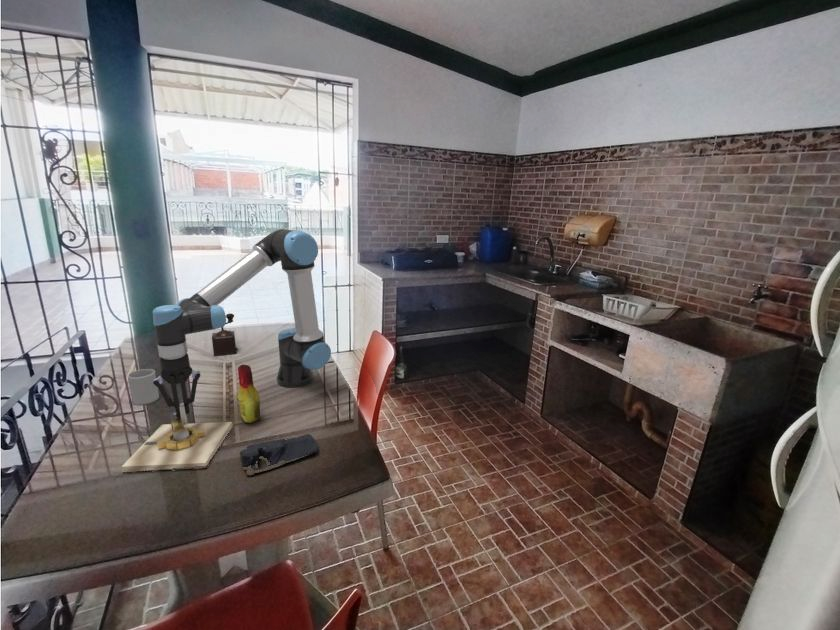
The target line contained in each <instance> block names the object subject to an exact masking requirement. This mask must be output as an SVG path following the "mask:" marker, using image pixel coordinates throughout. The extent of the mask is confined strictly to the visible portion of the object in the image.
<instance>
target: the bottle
mask: <svg viewBox="0 0 840 630" xmlns="http://www.w3.org/2000/svg"><path fill="white" fill-rule="evenodd" d="M237 372H238V382H239V383H238V384H239V389H238V392H237V397H238V398H237V399H238V404H239V410H240V416H241V418H242V419H243V422H245V423H249V424H251V423H254V422H256V421H259V420H260V418H261V404H260V403H261V402H260V395H259V392H258V390H257V389H256V387H255V385H254V377H253V373H252V368H251V366H250V365H248V364H241V365H239V366H238V367H237Z"/></svg>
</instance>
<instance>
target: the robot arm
mask: <svg viewBox="0 0 840 630" xmlns="http://www.w3.org/2000/svg"><path fill="white" fill-rule="evenodd" d="M318 254H319V246H318V243H317V241H316V239H315V238H314V236H312V235H310V234H309V233H308V232H305V231H302V230H298V229H297V230H294V229H283V228H281V229H277V230H274V231H273V232H270V233H269V234H268V235H266V236H265V237H262V239H261V240H259V241H258V242H257V243H255V244H254V245H253V246H252V250H251V251H250V252H249V253H247V254H245V256H243V257H241V258H240V259H238V261H237V262H235V263H234V264H232V265H231V266H230V267H229V268H227V269H226V270H225V271H224V272H222V273H221V274H219V275H218V276H217V277H216V278H214V279H213V280H212V281H210V282H209V283H207V285H204V287H202V288H201V289H200V290H199V291H197V292H196V293H194V294H193V295H192V296H191V297H189V298H183V299H182V298H181V300H178V302H177V303H176V304H166V305H164V304H163V305H161V306H156V307H155V308H154V309H153V310H152V321H153V322H152V324H153V327H154V334H155V339H156V344H157V350H158V356H159V362H160V363H159V364H160V369H161V372H160V375H159V376H158V377H156V378H155V379H154V381H153V384H154V385H156V386H157V387H158V391H159V392H160V394H161V396H162V398H163V399H164V402H165V403H166V405H167V406H168V408H170V407H174V408H175V411H176V415H177V416H180V415H181V420H182V422H183V425H187V424H188V417H187V415H188V414H190V413H191V412H190V411H191V410H190V404H191V403H192V404H193V403H194V402H195V397H196V391H197V385H198V381H199V380H200V378H201V371H196V370H193V368H192V367H191V364H190V356H189V354H188V343H187V337H186V335H191V334H197V333H202V332H206V331H215V330H217V329H221V327H223V328H224V327H226V325H227V324H226V323H227V318H226V315H227V314H226V313H225V310H224V308H223V306H221V305H220V304H221V303H222V302H223V301H225V300H226V299H228V297H230V296H232V295H233V294H234V293H235V292H236V291H238V290H239V289H240V288H241V287H242V286H244V285H245V284H246V283H248V282H249V281H250V280H251V279H253V278H254V277H255V276H256V275H258V274H259V273H260V272H261V271H262V270H264V269H265V268H267V267H272V266H274V265H275V264H276V263H278V262H280V266H281V269H282V270H283V272H285V273H286V274H287V275H286V276H287V279H288V286H289V295H290V299H291V306H292V311H293V312H292V313H293V319H294V326H295V327H292V328H291V327H290V328H286V329H283V330H280V331H279V332H278V338H277V341H278V351H279V354H278V355H279V368H278V372H277V376H276V383H277V384H278V385H279V386H280V387H283V388H299V387H304V386H307V385H309V384H311V383H312V382H313V381H314V372H313V371H317V370H319V369H322V368H324V367H325V366H326V365H327V364H328V362H329V361H330V359H331V356H332V349H331V347H330V345H329V344H328V343H326V342H325V336H324V332H323V331H322V330H320V328H319V327H320V326H319V321H318V314H317V307H316V299H315V291H314V283H313V278H312V277H313V276H312V271H313V270H314V268H315V261H316V259H317V257H318ZM190 376H191V378H192V383H191V389H190V390H191V391H190V395H189V397H188V390H187V383H186V382H187V381H188V379H189V378H190ZM164 381H165V382H167V383H168V384H169V385H170V388H171V391H172V398H173V399H172V398H171V395H170V394H169V391H168V390H167V388H166V386H165V384H164ZM178 384H180V388H181V393H182V401H183V402H182V403H180V397H179V392H178Z"/></svg>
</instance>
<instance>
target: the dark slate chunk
mask: <svg viewBox="0 0 840 630" xmlns="http://www.w3.org/2000/svg"><path fill="white" fill-rule="evenodd" d="M285 439H287V440H285ZM318 446H319V445H318V443H317V441H316V439H315V438H314V437H313V436H312V435H311V434H309V433H307V434H303V435H299V436H297V438H296V437H290V439H289V438H281V439H280V438H279V439H274V440H269V441H264V442H258V443H254V444H249V445H247V446H246V448H247V449H246V448H244V449H243V450H240V451H239V455H240V461H241V462H242V464H241V468H242V467H248V466H250V465H251V468H252V469H253V470H254V471H255V470H258V469H259V470H260V469H263V468H264V467H259V468H256V467H255V464H256V461H258V460H259V457H260V456H263V457H264V458H267V460H268V462H270V465H268V466H271V465H274V464H277V463H278V462H279V461H282V460H284V461H289V460H292V459H295V458H299V457H302V456H305V455H308V454H311V455H313V454H312V453H314V452H316V451H317V450H319V447H318ZM317 452H318V451H317ZM317 452H316V453H317ZM314 454H315V453H314ZM259 461H260V460H259ZM259 461H258V462H259Z"/></svg>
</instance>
